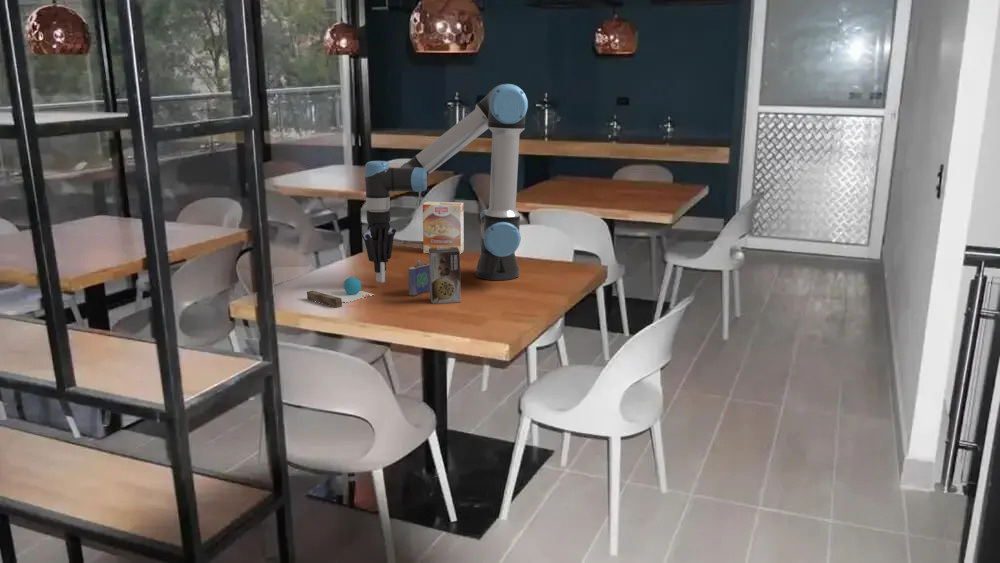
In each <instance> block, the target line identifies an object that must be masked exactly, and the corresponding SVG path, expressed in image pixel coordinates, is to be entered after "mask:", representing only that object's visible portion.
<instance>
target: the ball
mask: <svg viewBox="0 0 1000 563" xmlns="http://www.w3.org/2000/svg"><path fill="white" fill-rule="evenodd" d="M361 288H362V282H361V281H360V279H359V278H357V277H355V276H350V277H348V278H346V279H345V280H344V283H343V290H345V291H346V292H347V293H348V294H357V293H358V292H359V291H361Z"/></svg>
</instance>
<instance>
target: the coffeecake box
mask: <svg viewBox="0 0 1000 563" xmlns="http://www.w3.org/2000/svg"><path fill="white" fill-rule="evenodd" d="M464 215H465V214H464V202H457V201H455V202H450V201H449V202H448V201H445V202H444V201H426V202H423V204H422V245H423V246H422V248H423V252H422V253H423V254H425V253H429V248H449V247H457V248H458V249H459V251H460V254H461V253H463V252H464V251H465V250H464V246H465V245H464V244H465V242H464V241H465V240H464V238H465V237H464V233H465V232H464V231H465V230H464V225H465V224H464Z"/></svg>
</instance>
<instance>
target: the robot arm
mask: <svg viewBox="0 0 1000 563" xmlns="http://www.w3.org/2000/svg"><path fill="white" fill-rule="evenodd" d="M528 108H529V102H528V98H527V95H526V93H525V92H524V90H523V89H521V87H519V86H518V85H516V84H510V83H502V84H498V85H496V86H494V87H493V88H492V89H491V90H490V91H489V92H488V93H487V95H485V96H484V98H482V99H481V100H480V101H479V102H477V104H475V108H474V110H472V111H470V113H469V114H467V115H466V116H465V117H463V118H462V119H461V120H460V121H459V122H457V123H456V124H454V125H453V126H451V128H449V129H448V130H447V131H445V132H444V133H443V134H442V135H441V136H439V137H438V138H436V140H434V141H433V142H431V143H430V144H428V145H427V147H425V148H424V149H423V150H421V151H420V152H418V153H417V154H416V155H415V156H414V157H412V158H411V159H409V160H408V161H407V162H405V163H403V164H402V165H401V166H400V167H390V164H389V161H387V160H371V161H368V162H366V163H365V165H364V166H365V168H364V173H365V174H364V179H365V180H364V182H365V184H364V185H365V202H366V207H365V208H366V222H367V224H368V226H367V231H366V232H365V233H364V232H363V233H361V237H362V239H363V241H364V245H365V249H366V253H367V258H368V261H369V262H373V264H374V272H375V280H376V282H377V283H385V282H386V271H387V263H388V262H389V260H390V259H391V258H392V257H391V256H392V252H393V251H392V250H393V247H394V246H393V245H394V237H395V235H396V231H397V229H396V228H392V227H391V224H390V222H391V210H390V209H391V198H390V195H391V194H390V193H391V192H415V193H417V192H425V191H427V189H428V176H429V175H430V174H431V173H432V172H434V171H435V170H437V169H438V168H440V167H441V166H442V165H443V164H444V163H446V162H447V161H448V160H449V159H451V158H452V157H454V156H455V155H456V154H457V153H459V152H460V151H461V150H462V149H464V148H465V147H466V146H468V145H469V144H470V143H472V142H473V141H474V140H476V139H477V138H478V137H480V136H481V135H482V134H483V133H484V132H486V131H487V130H489V131H490V132H491V133H492V134H491V136H492V137H491V138H492V139H491V140H492V141H491V159H490V161H491V162H490V178H489V179H490V184H489V203H488V205H489V206H488V209H484V210H482V211H481V213H480V255H479V258H478V261H477V266H476V268H475V276H476V277H477V278H479V279H481V280H482V279H483V280H488V281H508V280H509V281H510V280H513V279H517V278H519V277H520V267H519V265H518V260H517V257H516V255H515V253H516V251H517V250H518V248H519V247H520V244H521V238H522V237H521V232H520V224H521V221H520V219H521V214H520V212H519V211H518V210H517V192H518V191H517V190H518V175H519V174H518V170H519V153H520V149H519V148H520V135H521V133H522V132H523V131H525V129H526V128H525V125H526V114H527V111H528ZM518 276H519V277H518ZM516 277H517V278H516Z"/></svg>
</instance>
